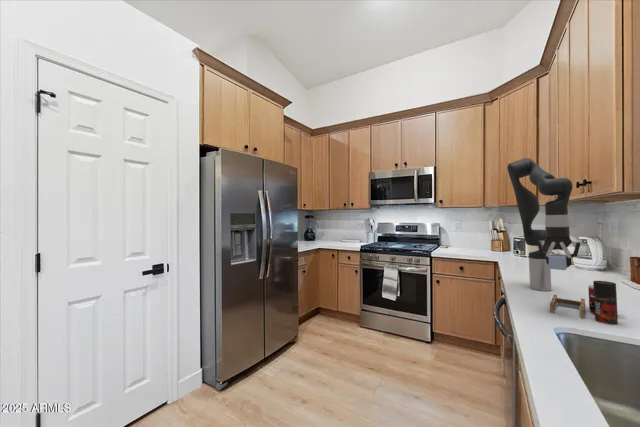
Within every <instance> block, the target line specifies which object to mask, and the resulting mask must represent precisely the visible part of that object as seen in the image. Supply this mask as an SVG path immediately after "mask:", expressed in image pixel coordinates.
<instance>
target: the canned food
mask: <svg viewBox="0 0 640 427" xmlns="http://www.w3.org/2000/svg"><path fill="white" fill-rule="evenodd" d="M587 288H588V291H587V292H588V306H589V308H588V309H589V311H590V313H591V314H594V315H595V307H594V285H593V284H590V285H588V287H587ZM616 296H617V292H616Z"/></svg>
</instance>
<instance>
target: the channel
mask: <svg viewBox="0 0 640 427" xmlns="http://www.w3.org/2000/svg"><path fill="white" fill-rule="evenodd" d="M585 300H586V299H585V298H581V297H580V300H579V301H578V300H574V299H573V300H572V299H567V298H559V297H558V295H557V294H553V296H552V298H551V300H550V303H549V312H550V313H553V314H554V313H555V311H556V308H557V306H558V303H564V304H570V305H577V306H580V309H579V310H580V311H579V312H580V313H579V314H580V318H581V319H586V301H585Z"/></svg>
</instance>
